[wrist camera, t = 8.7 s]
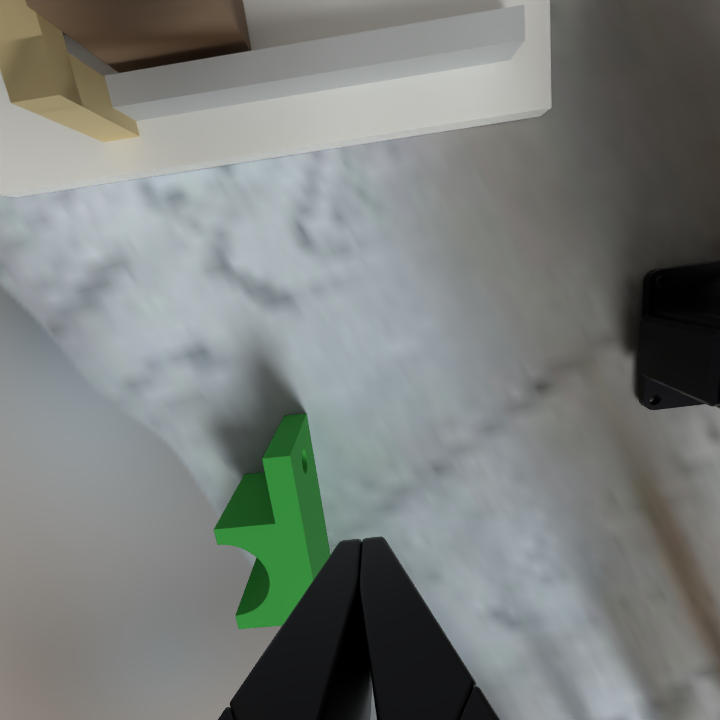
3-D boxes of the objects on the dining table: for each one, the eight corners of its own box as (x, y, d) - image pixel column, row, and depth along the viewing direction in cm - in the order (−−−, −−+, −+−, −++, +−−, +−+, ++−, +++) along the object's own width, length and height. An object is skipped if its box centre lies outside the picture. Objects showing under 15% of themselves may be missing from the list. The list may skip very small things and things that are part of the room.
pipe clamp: (234, 419, 20) (197, 464, 16) (307, 411, 20) (290, 454, 16) (273, 600, 23) (250, 682, 19) (337, 594, 23) (330, 676, 18)
